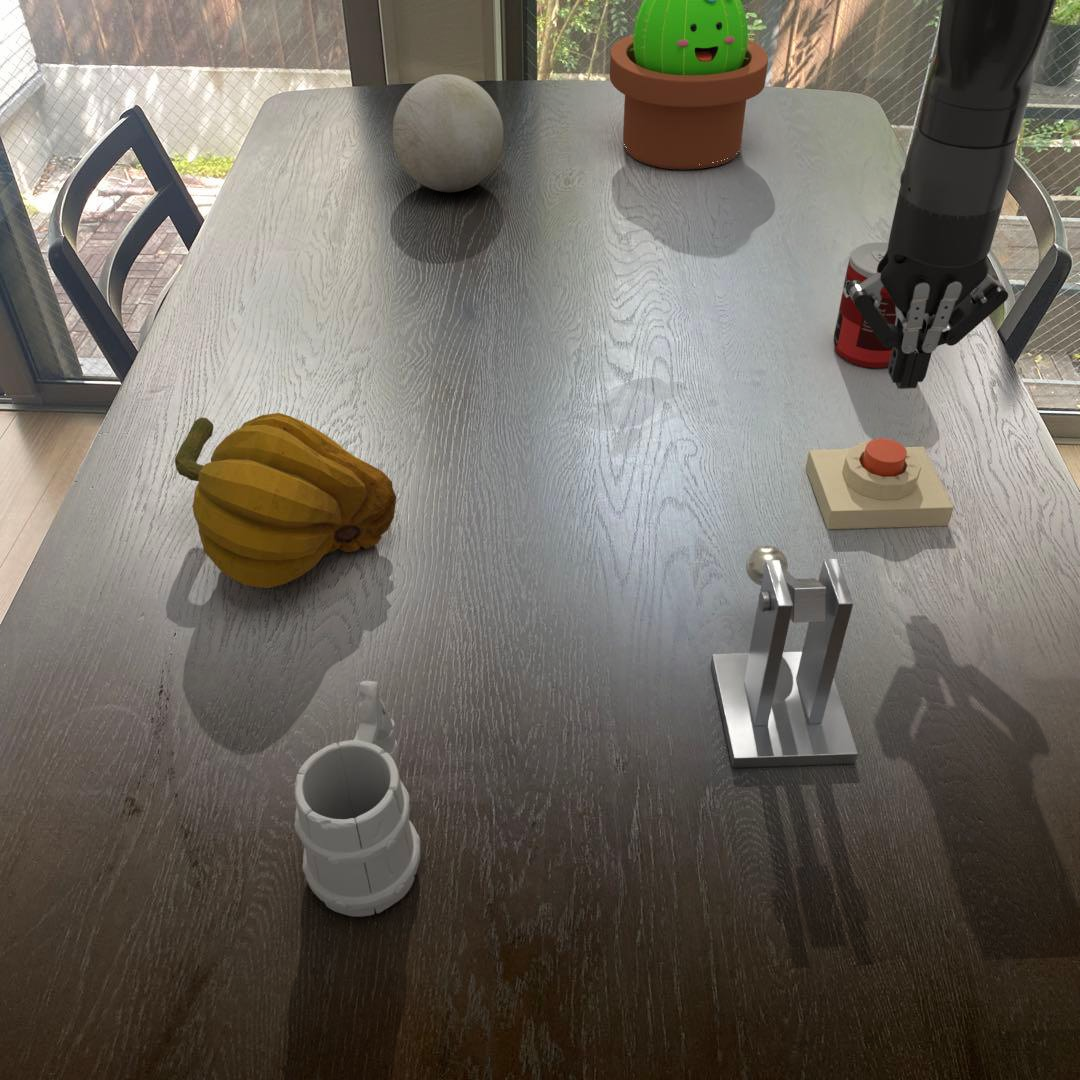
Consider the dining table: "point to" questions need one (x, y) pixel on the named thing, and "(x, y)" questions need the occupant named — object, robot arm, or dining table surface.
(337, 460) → the pumpkin
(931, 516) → the button box
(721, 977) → the dining table surface
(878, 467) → the button
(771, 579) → the metal lever switch
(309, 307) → the dining table surface
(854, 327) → the canned food
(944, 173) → the robot arm
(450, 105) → the decorative sphere
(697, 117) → the potted cactus
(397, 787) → the mug
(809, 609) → the grey lever handle
